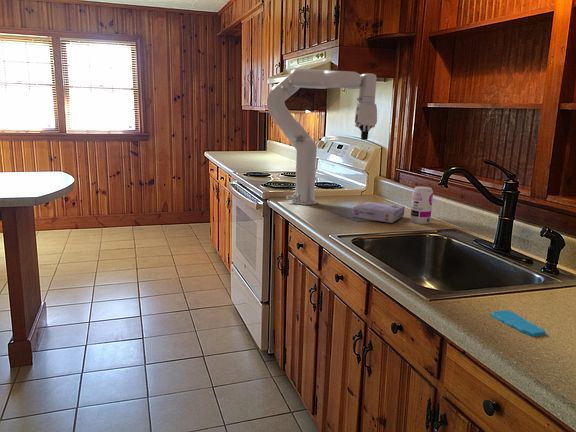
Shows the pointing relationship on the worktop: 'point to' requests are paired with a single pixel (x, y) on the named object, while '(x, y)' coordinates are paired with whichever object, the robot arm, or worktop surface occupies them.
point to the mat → (349, 214)
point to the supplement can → (421, 205)
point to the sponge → (518, 323)
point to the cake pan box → (378, 212)
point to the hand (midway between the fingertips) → (364, 139)
